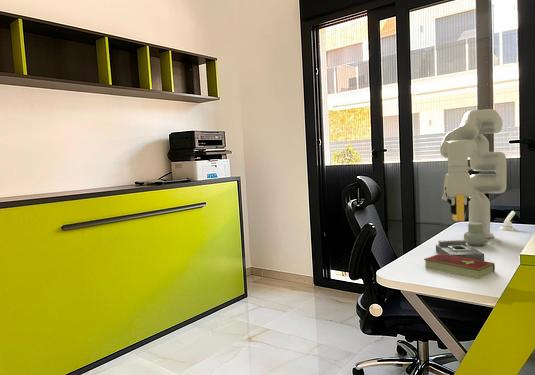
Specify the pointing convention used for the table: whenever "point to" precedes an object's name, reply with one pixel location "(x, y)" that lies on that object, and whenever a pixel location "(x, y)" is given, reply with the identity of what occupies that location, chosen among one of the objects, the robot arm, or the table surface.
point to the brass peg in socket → (459, 208)
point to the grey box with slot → (458, 249)
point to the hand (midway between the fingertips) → (458, 213)
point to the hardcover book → (459, 265)
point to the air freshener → (475, 235)
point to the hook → (508, 223)
